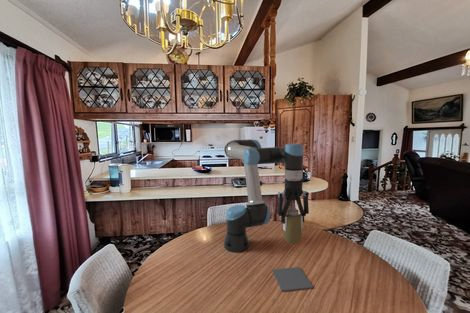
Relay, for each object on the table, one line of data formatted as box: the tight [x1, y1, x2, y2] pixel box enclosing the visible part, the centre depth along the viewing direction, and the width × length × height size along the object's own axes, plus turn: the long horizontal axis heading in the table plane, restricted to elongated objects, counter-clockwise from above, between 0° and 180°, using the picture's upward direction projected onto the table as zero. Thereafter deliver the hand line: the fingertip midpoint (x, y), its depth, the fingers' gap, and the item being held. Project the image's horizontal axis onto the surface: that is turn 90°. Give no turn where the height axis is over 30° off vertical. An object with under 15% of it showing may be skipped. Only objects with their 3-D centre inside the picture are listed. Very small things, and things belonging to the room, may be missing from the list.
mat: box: [271, 266, 314, 292], centre depth 98 cm, size 14×14×1 cm
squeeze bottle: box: [283, 201, 303, 245], centre depth 95 cm, size 8×8×18 cm
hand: (292, 229), depth 96 cm, fingers closed on squeeze bottle, 6 cm apart
